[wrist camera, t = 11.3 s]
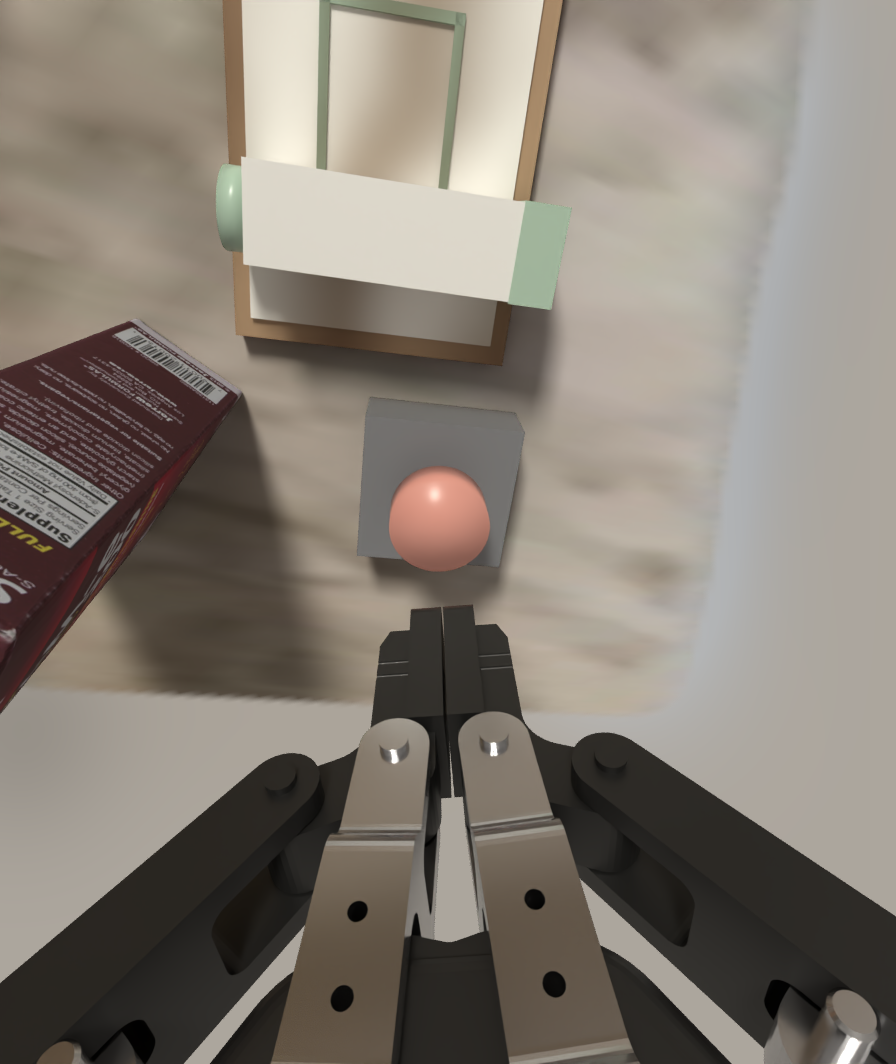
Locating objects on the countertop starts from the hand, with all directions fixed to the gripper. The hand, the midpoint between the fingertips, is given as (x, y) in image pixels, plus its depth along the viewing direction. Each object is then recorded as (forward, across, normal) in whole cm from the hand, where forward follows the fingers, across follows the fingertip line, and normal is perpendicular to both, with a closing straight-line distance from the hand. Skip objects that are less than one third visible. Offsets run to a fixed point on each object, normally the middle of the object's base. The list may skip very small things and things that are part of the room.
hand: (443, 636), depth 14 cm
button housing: (+12, 0, +1) cm, 12 cm away
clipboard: (+12, +1, -12) cm, 17 cm away
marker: (+10, +6, -10) cm, 15 cm away
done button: (+9, 0, +1) cm, 9 cm away
